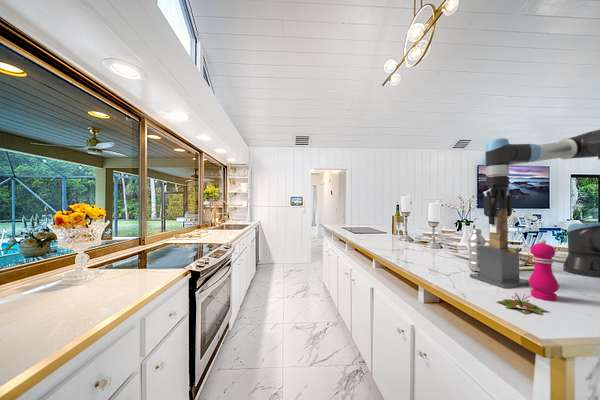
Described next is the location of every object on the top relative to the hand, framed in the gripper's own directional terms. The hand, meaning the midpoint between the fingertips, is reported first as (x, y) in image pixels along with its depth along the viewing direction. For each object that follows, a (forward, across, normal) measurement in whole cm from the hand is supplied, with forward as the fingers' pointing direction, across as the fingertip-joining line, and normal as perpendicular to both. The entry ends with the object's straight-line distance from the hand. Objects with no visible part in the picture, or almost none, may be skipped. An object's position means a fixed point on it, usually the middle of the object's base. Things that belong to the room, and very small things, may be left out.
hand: (498, 232), depth 99 cm
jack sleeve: (+20, 0, 0) cm, 20 cm away
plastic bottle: (+21, -5, -14) cm, 25 cm away
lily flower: (+21, +19, +21) cm, 35 cm away
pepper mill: (+21, +3, +17) cm, 27 cm away
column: (+15, 0, 0) cm, 15 cm away
